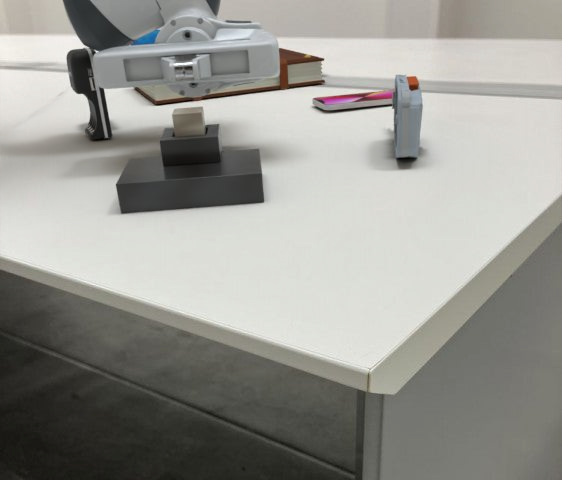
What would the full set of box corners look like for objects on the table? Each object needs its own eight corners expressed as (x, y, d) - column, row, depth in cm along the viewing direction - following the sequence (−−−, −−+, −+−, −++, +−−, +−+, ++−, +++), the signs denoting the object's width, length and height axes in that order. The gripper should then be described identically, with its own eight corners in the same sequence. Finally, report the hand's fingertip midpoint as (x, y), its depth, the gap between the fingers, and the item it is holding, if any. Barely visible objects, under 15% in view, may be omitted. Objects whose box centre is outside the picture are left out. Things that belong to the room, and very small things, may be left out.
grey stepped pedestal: (121, 213, 66) (110, 156, 63) (135, 182, 76) (126, 130, 73) (264, 202, 66) (259, 144, 64) (261, 172, 76) (257, 120, 73)
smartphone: (418, 96, 104) (325, 105, 101) (418, 102, 104) (325, 112, 101) (399, 89, 110) (310, 98, 107) (398, 95, 110) (310, 104, 107)
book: (325, 84, 124) (324, 54, 122) (155, 105, 116) (151, 74, 114) (282, 70, 143) (280, 44, 140) (133, 88, 135) (128, 60, 132)
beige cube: (175, 140, 69) (171, 114, 68) (177, 134, 72) (174, 108, 71) (204, 138, 69) (201, 111, 68) (205, 131, 72) (203, 106, 71)
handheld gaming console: (391, 138, 86) (392, 69, 82) (414, 137, 85) (417, 68, 81) (394, 169, 74) (396, 90, 69) (422, 168, 73) (425, 89, 69)
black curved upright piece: (79, 134, 100) (62, 48, 94) (105, 130, 101) (89, 45, 95) (86, 143, 94) (67, 52, 88) (113, 139, 95) (97, 49, 90)
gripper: (99, 32, 79) (75, 45, 68) (274, 20, 80) (280, 30, 68) (109, 90, 83) (88, 112, 71) (277, 78, 83) (284, 97, 71)
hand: (184, 72), depth 69 cm, fingers closed
